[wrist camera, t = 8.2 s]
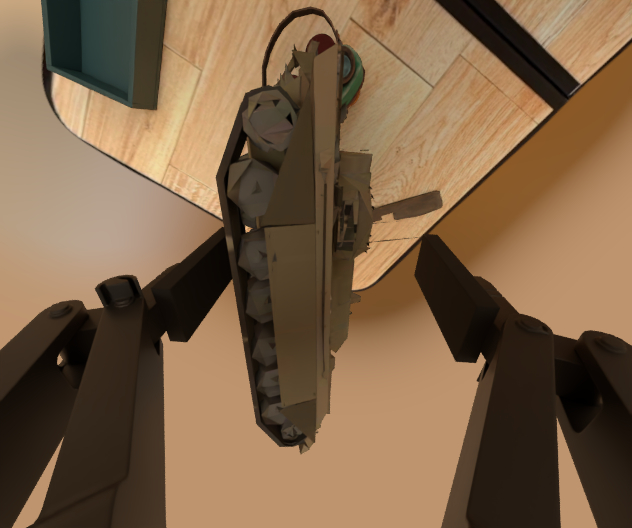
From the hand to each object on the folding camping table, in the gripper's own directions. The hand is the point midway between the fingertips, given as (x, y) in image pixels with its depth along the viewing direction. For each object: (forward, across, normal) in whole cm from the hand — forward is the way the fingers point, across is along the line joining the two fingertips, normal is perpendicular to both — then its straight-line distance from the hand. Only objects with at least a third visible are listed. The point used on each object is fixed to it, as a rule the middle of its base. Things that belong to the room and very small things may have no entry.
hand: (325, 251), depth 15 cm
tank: (-3, -4, -2) cm, 6 cm away
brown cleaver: (+19, +10, -6) cm, 22 cm away
